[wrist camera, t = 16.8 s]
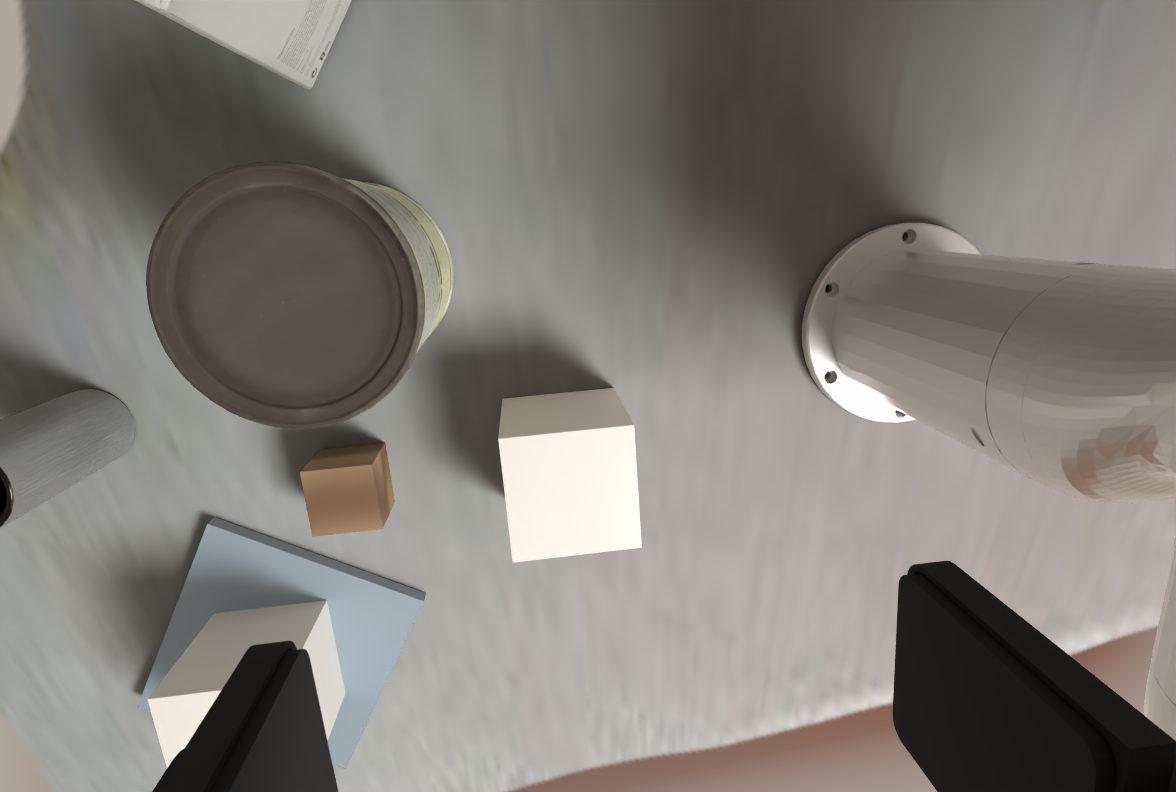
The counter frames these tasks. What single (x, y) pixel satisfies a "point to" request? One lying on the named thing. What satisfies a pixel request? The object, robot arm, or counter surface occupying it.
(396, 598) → the slate board
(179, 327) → the coffee can
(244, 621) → the white box
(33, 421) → the grey cylinder
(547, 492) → the plain white cube box
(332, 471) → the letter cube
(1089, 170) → the counter surface
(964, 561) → the counter surface
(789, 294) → the counter surface
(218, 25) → the skincare box
